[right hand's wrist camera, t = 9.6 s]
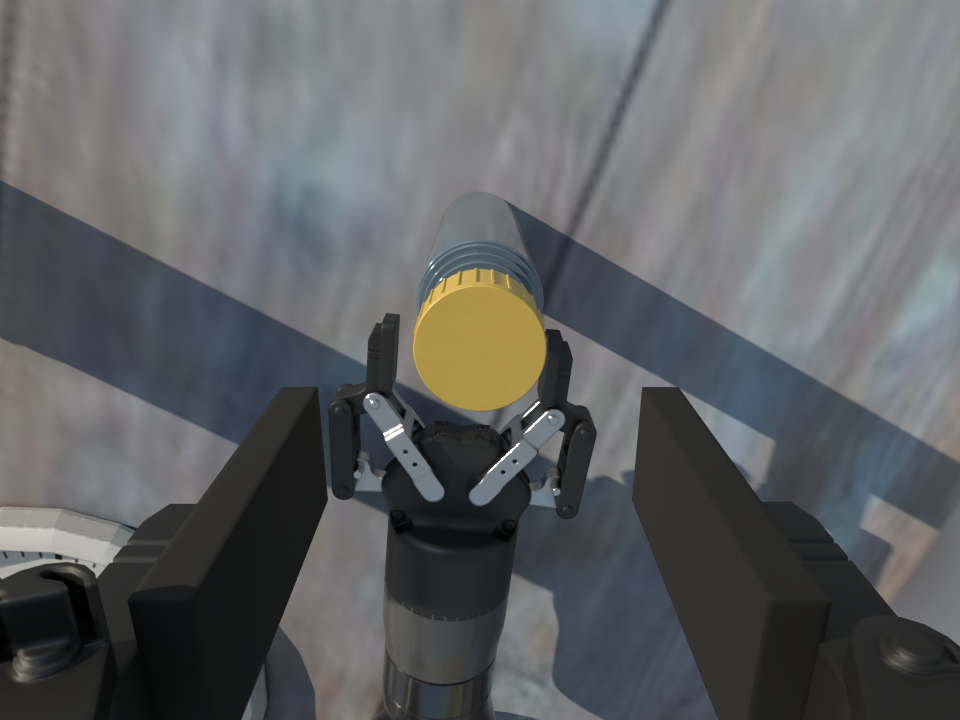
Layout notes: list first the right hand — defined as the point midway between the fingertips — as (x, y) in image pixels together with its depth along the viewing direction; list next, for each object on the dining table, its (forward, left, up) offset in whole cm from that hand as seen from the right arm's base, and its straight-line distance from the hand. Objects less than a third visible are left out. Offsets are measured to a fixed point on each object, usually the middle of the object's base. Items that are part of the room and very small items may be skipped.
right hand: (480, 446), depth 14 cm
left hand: (+1, +4, -21) cm, 21 cm away
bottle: (0, 0, -27) cm, 27 cm away
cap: (0, 0, -6) cm, 6 cm away
